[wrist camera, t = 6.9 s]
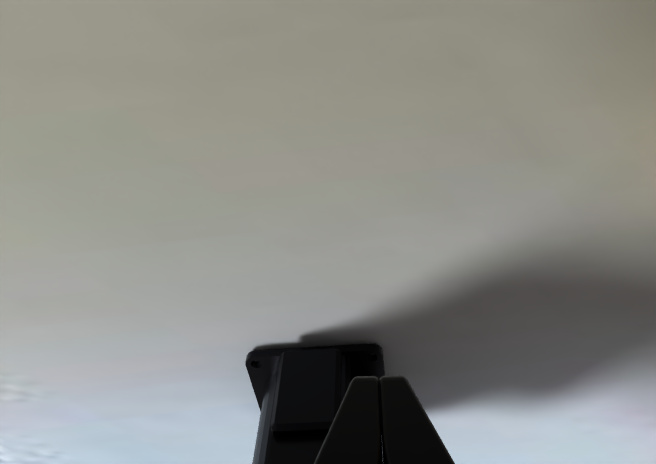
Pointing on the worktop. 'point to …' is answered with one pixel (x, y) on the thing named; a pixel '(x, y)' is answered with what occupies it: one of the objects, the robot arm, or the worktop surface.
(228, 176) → the worktop surface
